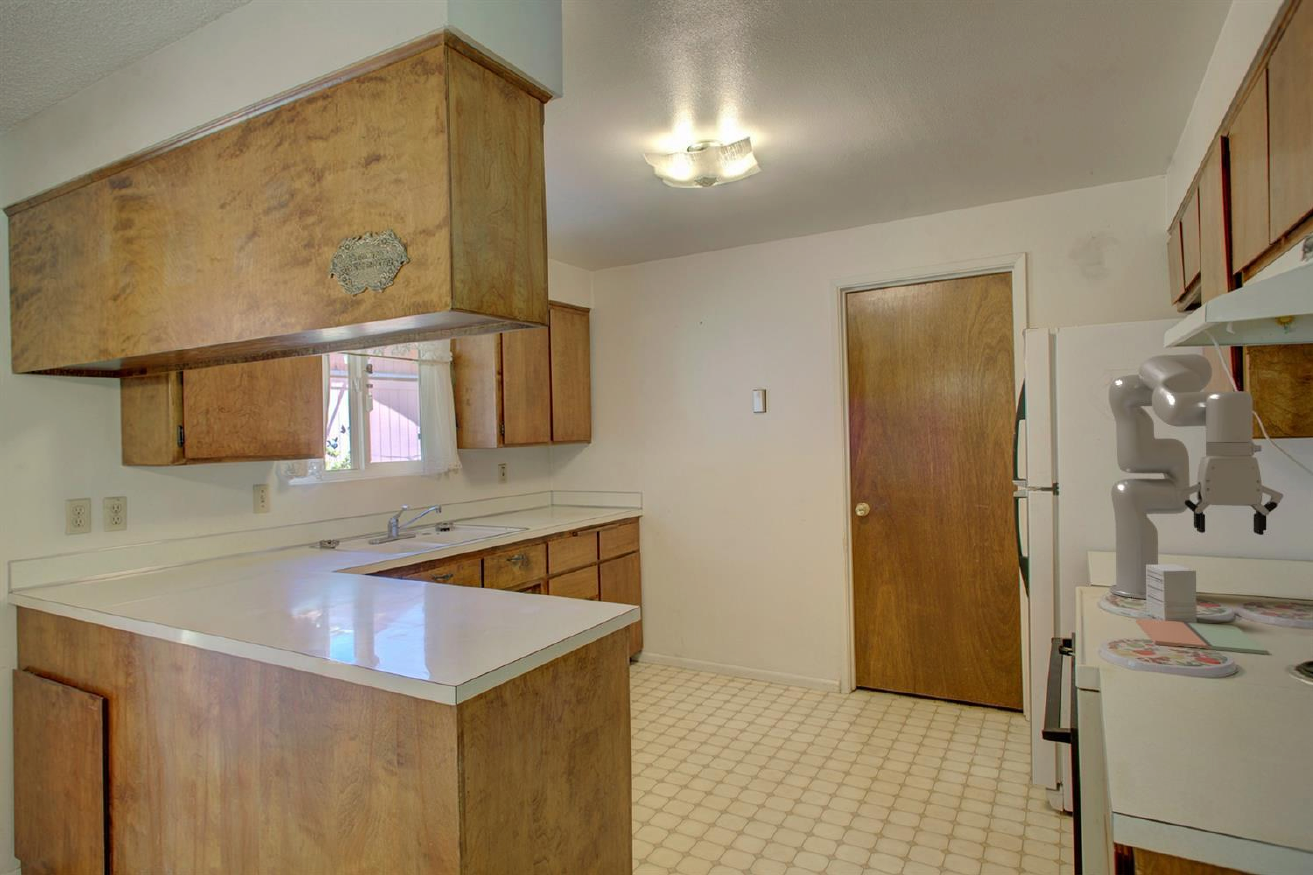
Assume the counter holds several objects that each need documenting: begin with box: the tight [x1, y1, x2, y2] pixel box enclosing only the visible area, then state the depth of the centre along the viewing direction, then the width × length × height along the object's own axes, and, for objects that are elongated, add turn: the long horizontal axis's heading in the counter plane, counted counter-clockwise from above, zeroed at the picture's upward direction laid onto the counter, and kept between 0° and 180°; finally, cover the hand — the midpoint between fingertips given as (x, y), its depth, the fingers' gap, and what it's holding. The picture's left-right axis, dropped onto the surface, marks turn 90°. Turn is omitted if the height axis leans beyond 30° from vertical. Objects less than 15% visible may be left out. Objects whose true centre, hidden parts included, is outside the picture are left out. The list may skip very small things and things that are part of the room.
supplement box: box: [1145, 563, 1198, 623], centre depth 167 cm, size 7×7×13 cm
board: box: [1135, 617, 1268, 655], centre depth 154 cm, size 18×19×1 cm
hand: (1229, 532), depth 146 cm, fingers open, 9 cm apart
